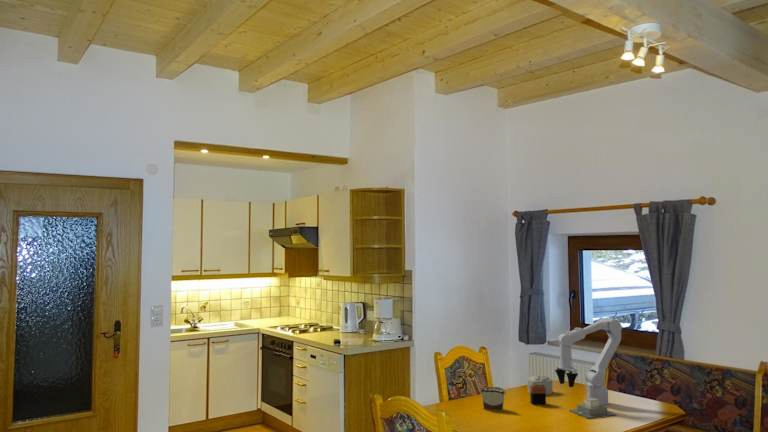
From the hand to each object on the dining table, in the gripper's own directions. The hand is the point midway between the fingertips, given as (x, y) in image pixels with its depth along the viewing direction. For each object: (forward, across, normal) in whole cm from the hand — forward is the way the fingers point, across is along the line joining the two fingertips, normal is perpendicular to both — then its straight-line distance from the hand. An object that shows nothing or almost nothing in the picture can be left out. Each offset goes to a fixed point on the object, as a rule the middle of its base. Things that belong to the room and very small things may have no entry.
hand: (566, 385), depth 293 cm
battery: (+10, -6, -13) cm, 17 cm away
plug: (+9, +18, +1) cm, 20 cm away
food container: (+10, -6, -38) cm, 40 cm away
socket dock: (+9, +18, +1) cm, 20 cm away
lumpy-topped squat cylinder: (+10, -26, +2) cm, 28 cm away
